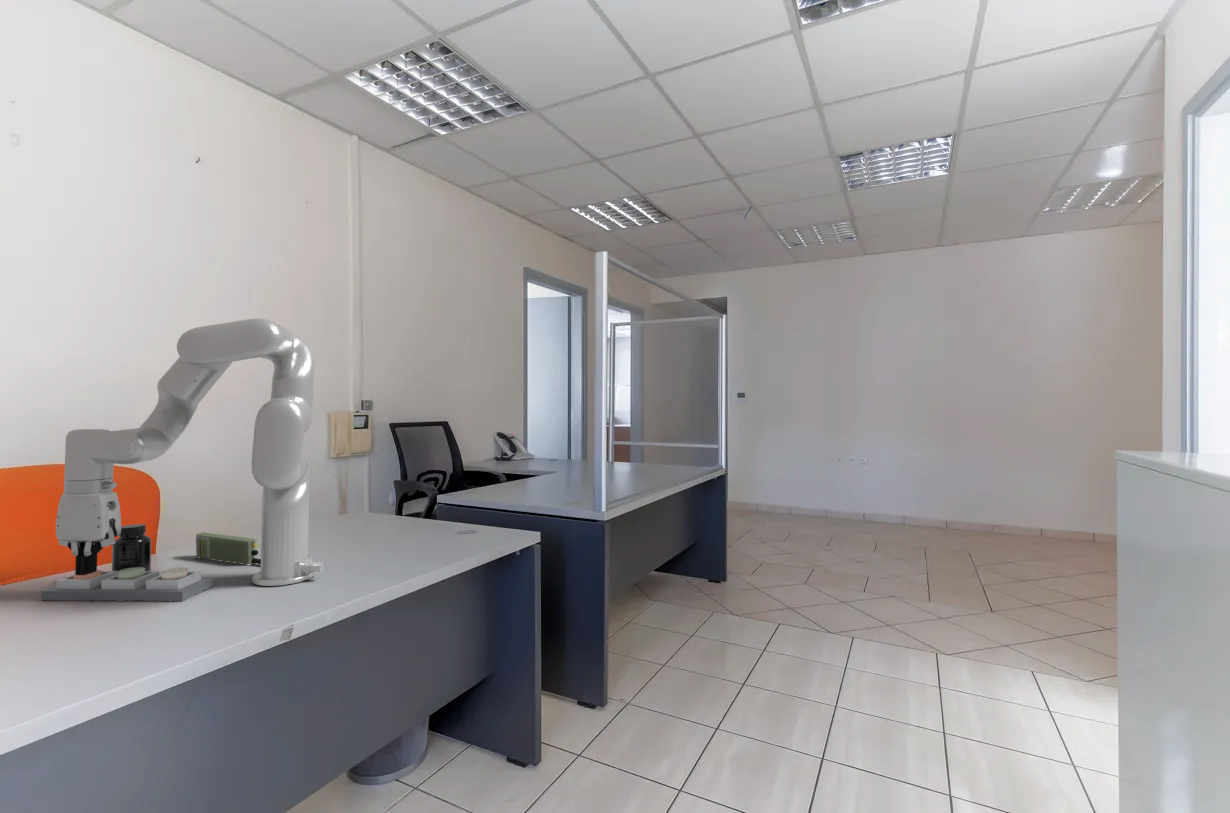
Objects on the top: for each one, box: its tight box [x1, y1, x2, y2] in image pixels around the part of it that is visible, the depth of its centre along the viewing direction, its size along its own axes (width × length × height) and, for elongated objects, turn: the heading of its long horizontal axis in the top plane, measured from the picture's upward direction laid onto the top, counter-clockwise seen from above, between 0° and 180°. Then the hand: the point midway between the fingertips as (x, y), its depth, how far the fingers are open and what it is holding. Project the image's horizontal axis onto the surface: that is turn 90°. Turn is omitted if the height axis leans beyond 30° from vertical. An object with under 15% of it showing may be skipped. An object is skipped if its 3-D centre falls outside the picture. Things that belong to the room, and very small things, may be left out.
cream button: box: [160, 567, 189, 580], centre depth 117 cm, size 4×4×2 cm
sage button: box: [117, 567, 145, 580], centre depth 116 cm, size 4×4×2 cm
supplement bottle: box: [111, 523, 152, 574], centre depth 127 cm, size 7×7×12 cm
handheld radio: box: [195, 531, 261, 565], centre depth 141 cm, size 7×3×25 cm
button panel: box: [41, 570, 214, 602], centre depth 116 cm, size 28×9×4 cm, turn 92°
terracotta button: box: [72, 569, 103, 579], centre depth 116 cm, size 4×4×2 cm
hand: (86, 572), depth 116 cm, fingers closed
